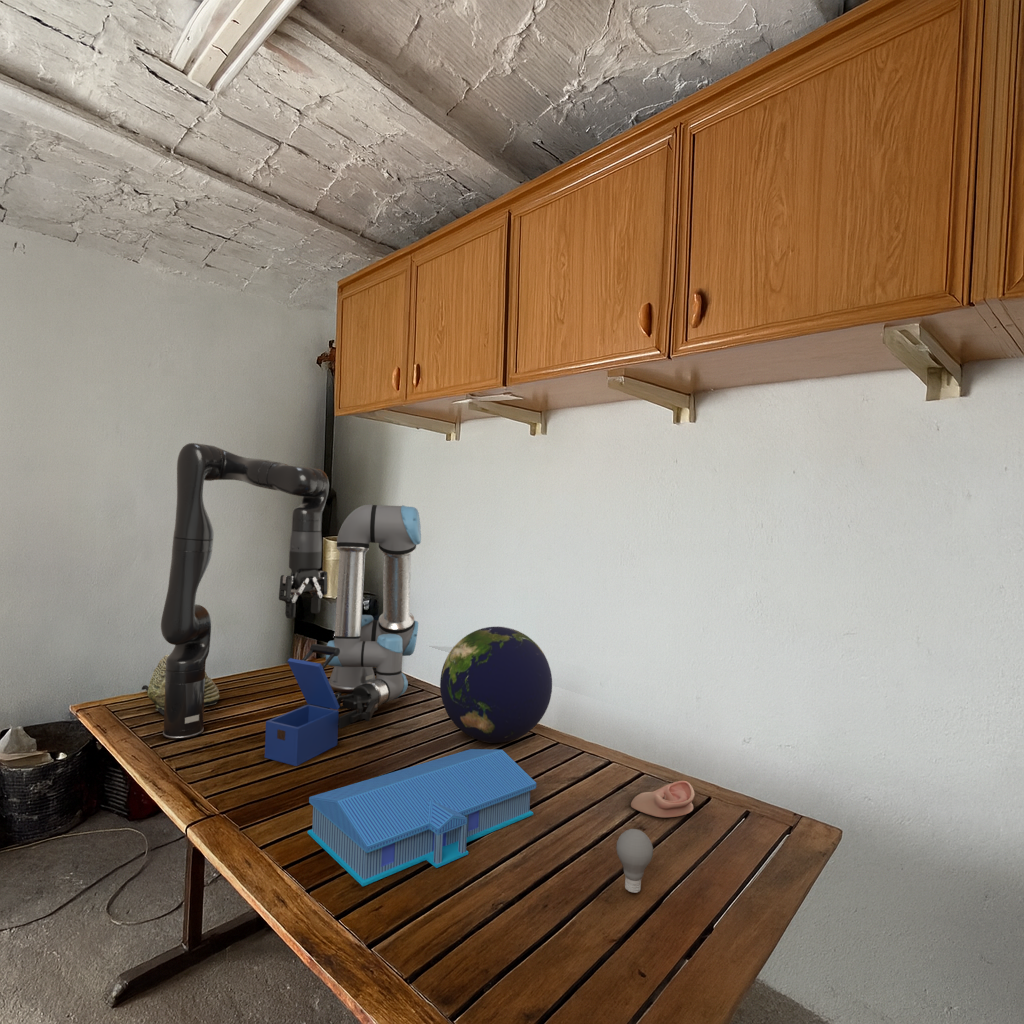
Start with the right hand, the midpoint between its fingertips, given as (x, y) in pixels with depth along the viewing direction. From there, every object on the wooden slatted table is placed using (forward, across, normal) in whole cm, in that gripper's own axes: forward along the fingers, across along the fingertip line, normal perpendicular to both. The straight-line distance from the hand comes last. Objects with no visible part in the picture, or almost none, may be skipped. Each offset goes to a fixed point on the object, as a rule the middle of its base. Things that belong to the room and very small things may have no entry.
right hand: (318, 718), depth 162 cm
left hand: (+7, 0, +27) cm, 28 cm away
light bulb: (+23, -87, -7) cm, 90 cm away
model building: (+22, -46, -7) cm, 52 cm away
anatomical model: (-10, -86, -7) cm, 86 cm away
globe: (-25, -38, -7) cm, 46 cm away
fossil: (-3, +52, -7) cm, 52 cm away
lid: (+3, 0, +9) cm, 9 cm away
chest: (+5, 0, -7) cm, 9 cm away
